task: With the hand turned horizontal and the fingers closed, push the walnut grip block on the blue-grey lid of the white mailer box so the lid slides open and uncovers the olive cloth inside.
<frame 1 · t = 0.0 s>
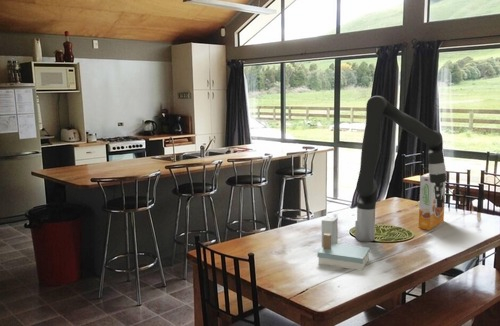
hand: (440, 205, 220), 22 cm above the table, tool pointing down, fingers open, 8 cm apart
cereal box: (431, 224, 265), on the table
skincare box: (329, 247, 229), on the table
lid: (344, 245, 208), point 8 cm above the table, slide at 0.0 cm
mailer box: (343, 261, 209), on the table
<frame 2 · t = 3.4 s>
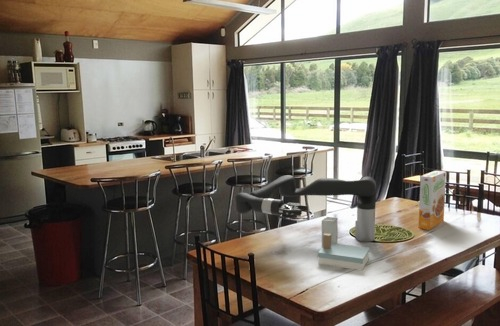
hand: (304, 210, 214), 22 cm above the table, tool horizontal, fingers open, 8 cm apart
nothing on the table moved.
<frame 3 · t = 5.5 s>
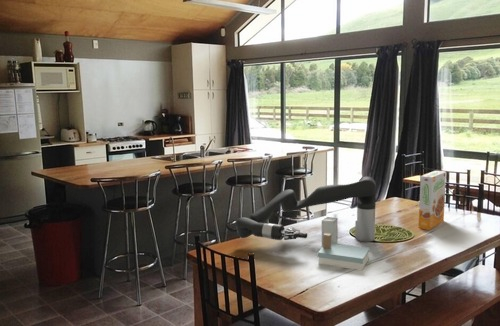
hand: (306, 235, 216), 10 cm above the table, tool horizontal, fingers closed
nothing on the table moved.
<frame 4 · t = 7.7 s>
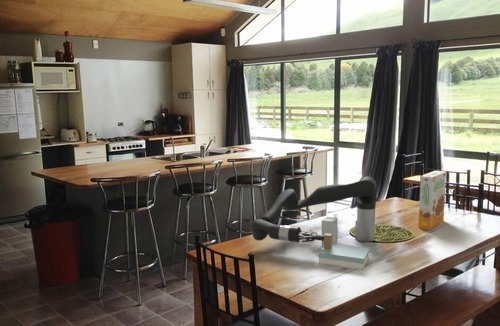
hand: (324, 238, 212), 10 cm above the table, tool horizontal, fingers closed
lid: (344, 245, 208), point 8 cm above the table, slide at 0.3 cm, touching gripper
everything else where it was.
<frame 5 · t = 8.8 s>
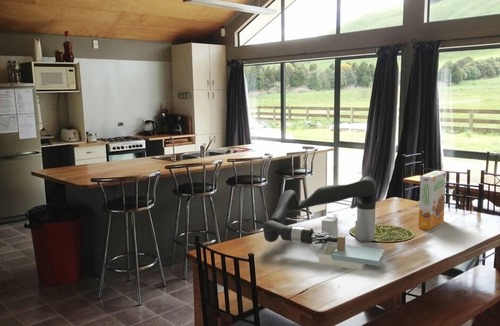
hand: (338, 239, 209), 10 cm above the table, tool horizontal, fingers closed
lid: (358, 247, 205), point 8 cm above the table, slide at 6.6 cm, touching gripper
everything else where it was.
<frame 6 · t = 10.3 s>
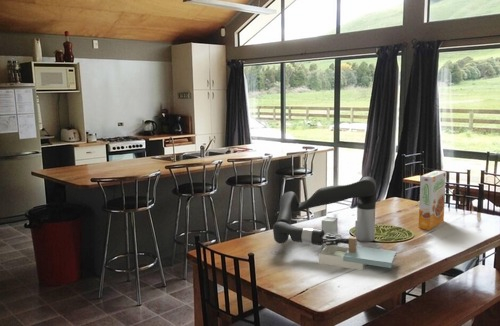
hand: (349, 241, 207), 10 cm above the table, tool horizontal, fingers closed
lid: (370, 249, 203), point 8 cm above the table, slide at 11.9 cm, touching gripper
everything else where it was.
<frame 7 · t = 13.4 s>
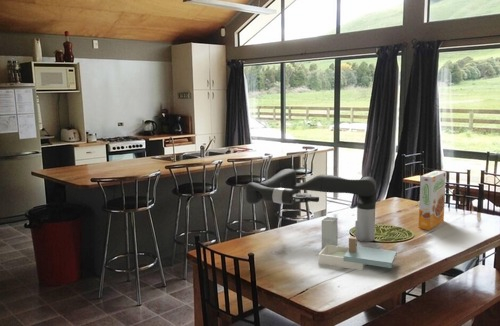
hand: (318, 199, 210), 28 cm above the table, tool horizontal, fingers closed
lid: (370, 249, 203), point 8 cm above the table, slide at 12.0 cm
everything else where it was.
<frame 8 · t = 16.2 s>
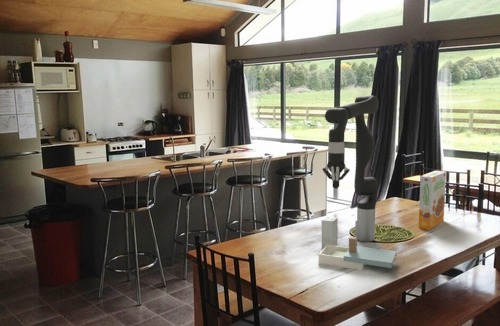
hand: (335, 188, 212), 33 cm above the table, tool pointing down, fingers closed
nothing on the table moved.
at the end: lid slide at 12.0 cm; the gripper is holding nothing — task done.
